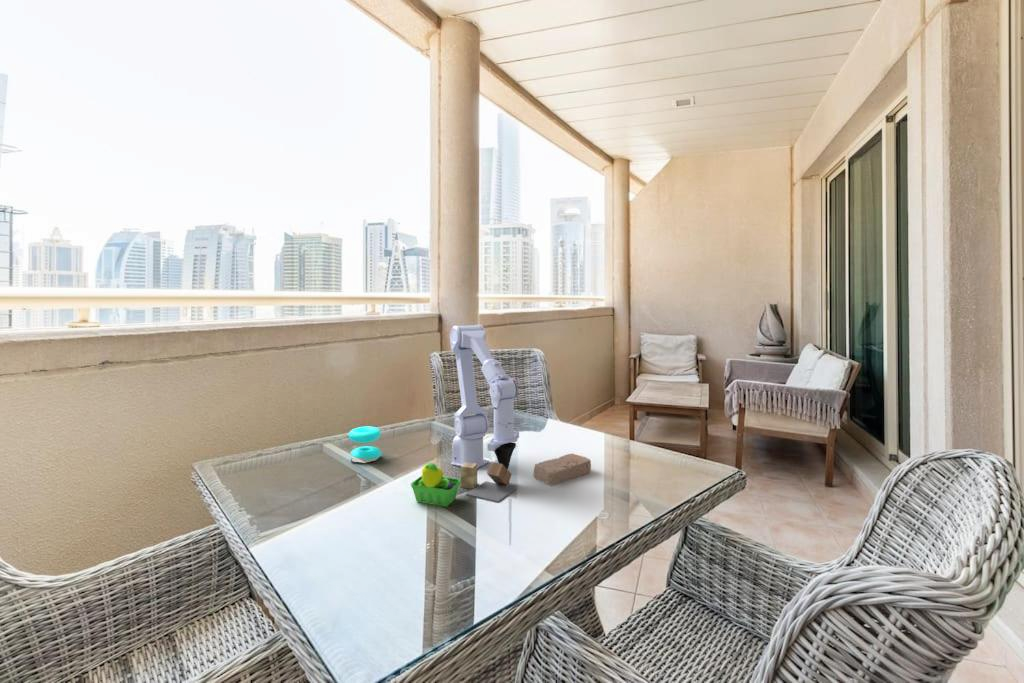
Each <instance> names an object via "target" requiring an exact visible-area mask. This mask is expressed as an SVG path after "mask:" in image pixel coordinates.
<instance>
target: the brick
mask: <svg viewBox="0 0 1024 683" xmlns="http://www.w3.org/2000/svg"><path fill="white" fill-rule="evenodd" d="M591 467H592V461H591V459H590V458H587V457H586V456H583V455H579V454H574V453H573V452H571V453H567V454H564V455H562V456H560V457H558V458H556V457H555V458H553V459H548V460H544V461H542V462H538V463H535V464H534V467H533V474H532V475H533V478H534V479H535V480H538V481H540V482H542V483H543V484H545V485H548V486H553V485H557V484H560V483H563V482H566V481H569V480H573V479H577V478H580V477H583V476H585V475H587V474H589V473H590V472H591Z"/></svg>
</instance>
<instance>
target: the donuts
mask: <svg viewBox="0 0 1024 683" xmlns="http://www.w3.org/2000/svg"><path fill="white" fill-rule="evenodd" d="M381 434H382V433H381V430H380V428H378V427H375V426H366V425H365V426H359V427H356V428H355V427H354V428H352V429H351V430H350V431H349V432H348V438H349V440H351V441H352V442H354V443H357V444H366V443H371V442H374V441H376V440H378V439H379V438H380V436H381ZM350 454H351V455H352V456H354V457H357V458H364V459H372V458H377V457H379V456H382V451H381V450H380V449H379V448H378V447H376V446H373V445H372V446H371V445H366V446H364V445H363V446H359V447H356V448H354V449H353V450H352V451H351V452H350V453H349V455H350Z"/></svg>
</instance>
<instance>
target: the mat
mask: <svg viewBox="0 0 1024 683" xmlns="http://www.w3.org/2000/svg"><path fill="white" fill-rule="evenodd" d="M516 490H517V487H513V486H509V485H508V486H505V485H501V484H496V483H495V482H491V481H484V482H482V483H481V484H479V485H478V486H475V487H474V488H473V489H471V490H470V491H468V492H467V493H466V494H465V496H468V497H472V498H476V499H477V498H478V499H481V500H485V501H489V502H494V503H497V504H498V503H500V502H501V501H502V500H504V499H505V498H507V497H508V496H509V495H511V494H512V493H514V492H515V491H516Z"/></svg>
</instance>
